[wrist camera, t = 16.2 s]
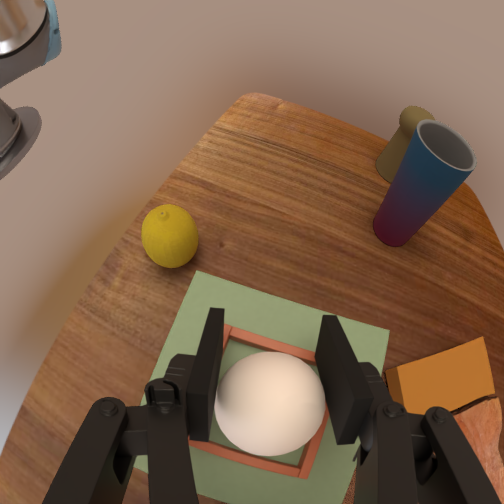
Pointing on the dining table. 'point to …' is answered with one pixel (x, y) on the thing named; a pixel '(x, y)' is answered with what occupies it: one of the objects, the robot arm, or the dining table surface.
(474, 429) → the salmon fillet board
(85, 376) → the dining table surface
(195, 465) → the green side table
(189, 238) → the lemon
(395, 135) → the cork
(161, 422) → the robot arm
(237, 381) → the egg
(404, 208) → the cup
